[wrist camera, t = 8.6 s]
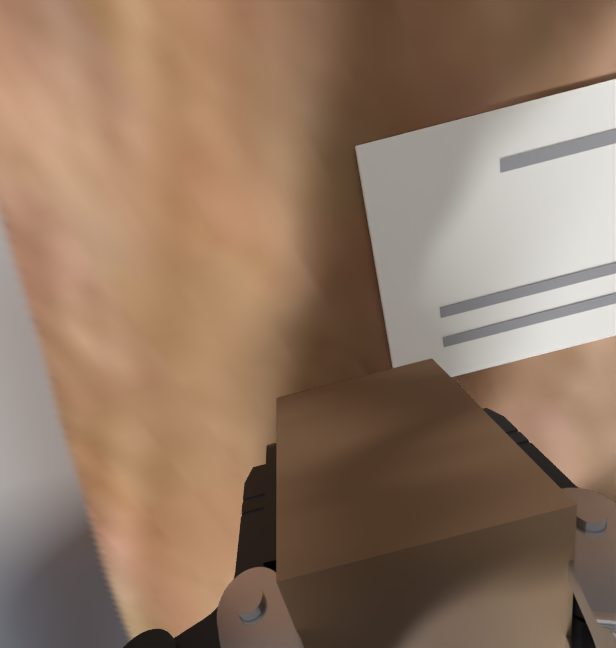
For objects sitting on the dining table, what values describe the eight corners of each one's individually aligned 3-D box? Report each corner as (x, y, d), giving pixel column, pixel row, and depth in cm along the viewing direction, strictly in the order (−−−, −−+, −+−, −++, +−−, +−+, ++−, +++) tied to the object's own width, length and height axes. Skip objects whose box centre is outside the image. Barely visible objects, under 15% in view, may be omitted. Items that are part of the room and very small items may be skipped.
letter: (737, 47, 13) (746, 44, 13) (691, 313, 17) (697, 315, 17) (354, 146, 13) (356, 145, 13) (396, 388, 17) (397, 391, 17)
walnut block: (432, 358, 10) (577, 504, 5) (447, 479, 11) (569, 678, 7) (276, 398, 10) (276, 581, 5) (313, 513, 11) (339, 737, 7)
